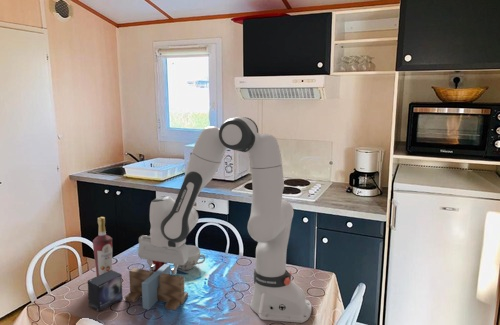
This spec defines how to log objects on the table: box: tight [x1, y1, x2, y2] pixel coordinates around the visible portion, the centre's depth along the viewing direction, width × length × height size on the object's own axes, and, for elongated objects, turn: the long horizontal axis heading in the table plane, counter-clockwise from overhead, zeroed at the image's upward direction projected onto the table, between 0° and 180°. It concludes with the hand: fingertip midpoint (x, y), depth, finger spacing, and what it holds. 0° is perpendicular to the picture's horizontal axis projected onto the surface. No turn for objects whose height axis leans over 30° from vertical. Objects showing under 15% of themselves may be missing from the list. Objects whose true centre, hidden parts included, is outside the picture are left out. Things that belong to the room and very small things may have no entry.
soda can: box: [150, 260, 168, 273], centre depth 163 cm, size 7×7×12 cm
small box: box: [87, 269, 123, 313], centre depth 136 cm, size 11×6×10 cm, turn 148°
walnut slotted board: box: [125, 267, 189, 311], centre depth 140 cm, size 22×10×10 cm, turn 73°
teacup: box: [178, 244, 206, 271], centre depth 166 cm, size 15×12×8 cm
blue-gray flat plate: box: [141, 263, 171, 310], centre depth 141 cm, size 16×2×10 cm, turn 163°
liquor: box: [92, 216, 113, 277], centre depth 149 cm, size 7×7×28 cm
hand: (163, 271), depth 144 cm, fingers open, 8 cm apart
